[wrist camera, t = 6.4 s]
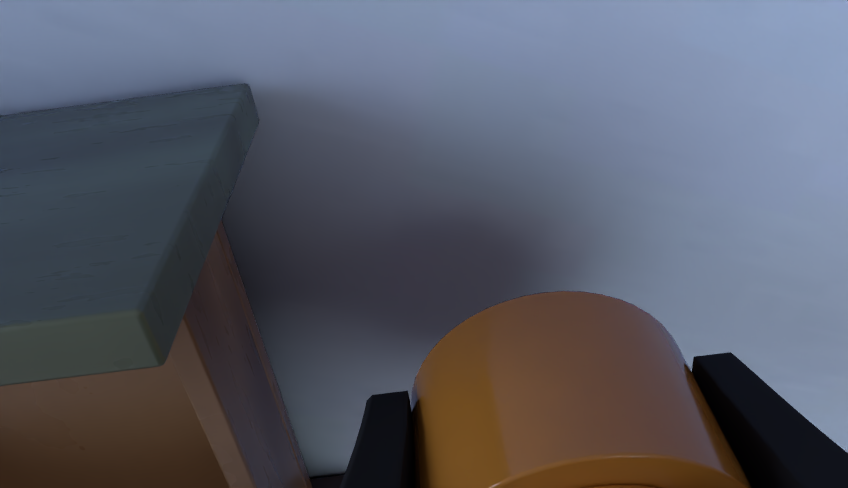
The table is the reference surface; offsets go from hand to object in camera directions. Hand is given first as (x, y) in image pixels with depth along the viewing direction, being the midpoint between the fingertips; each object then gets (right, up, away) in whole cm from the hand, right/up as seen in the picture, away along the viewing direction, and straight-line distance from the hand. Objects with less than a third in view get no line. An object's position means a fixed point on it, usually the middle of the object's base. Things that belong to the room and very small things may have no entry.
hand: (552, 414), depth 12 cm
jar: (0, 0, 0) cm, 0 cm away
